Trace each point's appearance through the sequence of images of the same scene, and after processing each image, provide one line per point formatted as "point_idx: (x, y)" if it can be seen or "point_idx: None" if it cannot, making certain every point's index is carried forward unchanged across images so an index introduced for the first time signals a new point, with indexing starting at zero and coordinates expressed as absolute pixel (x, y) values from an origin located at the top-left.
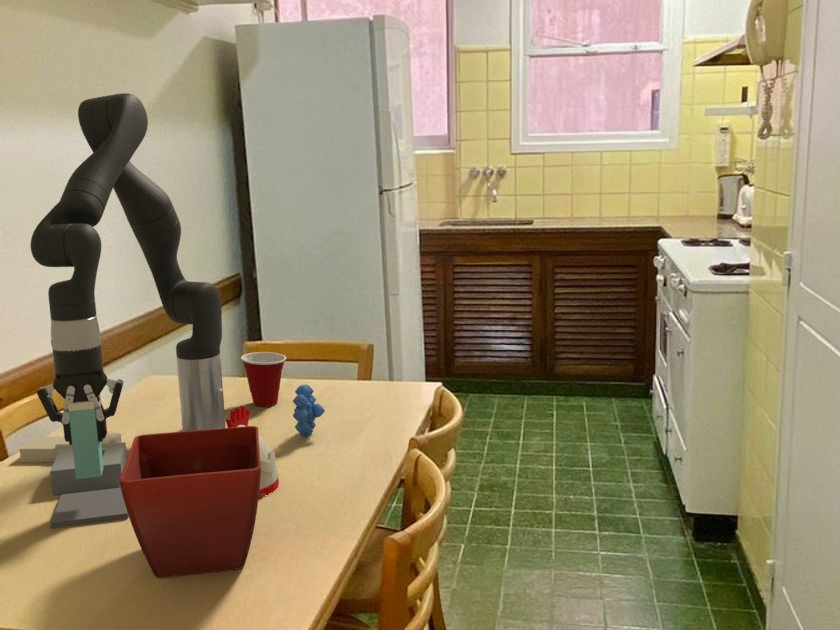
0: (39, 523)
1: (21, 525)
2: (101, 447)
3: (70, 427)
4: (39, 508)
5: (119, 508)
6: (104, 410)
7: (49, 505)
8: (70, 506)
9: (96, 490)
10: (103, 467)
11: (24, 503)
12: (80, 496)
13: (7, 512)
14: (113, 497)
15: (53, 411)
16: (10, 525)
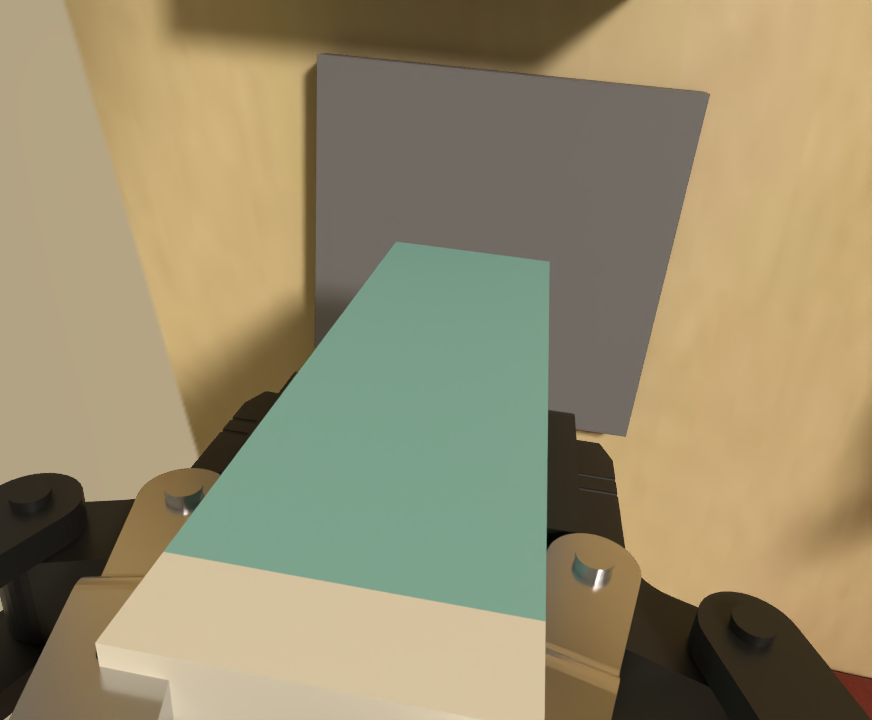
0: (267, 305)
1: (199, 293)
2: (548, 318)
3: None
4: (233, 127)
5: (598, 373)
6: (626, 703)
7: (274, 106)
8: (378, 248)
9: (502, 73)
10: (549, 265)
11: (144, 18)
12: (418, 132)
13: (97, 113)
14: (585, 226)
15: (6, 709)
16: (155, 274)
